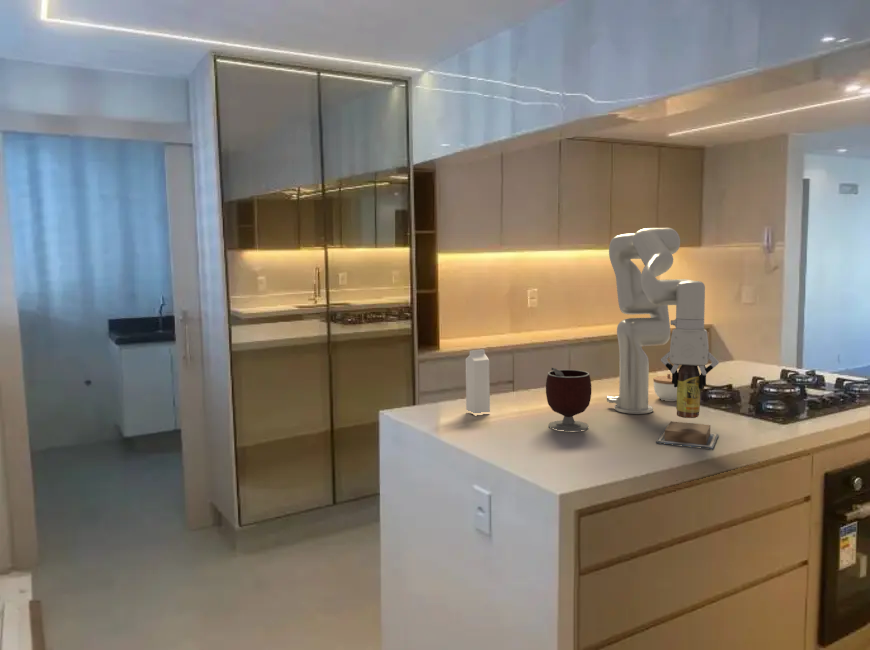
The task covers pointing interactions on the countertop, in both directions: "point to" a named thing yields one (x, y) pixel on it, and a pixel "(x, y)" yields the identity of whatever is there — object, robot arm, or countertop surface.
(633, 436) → the countertop surface
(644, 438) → the countertop surface
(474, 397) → the milk
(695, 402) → the sauce bottle
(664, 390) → the lidded jar
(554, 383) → the mate gourd
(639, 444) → the countertop surface
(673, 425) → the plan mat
